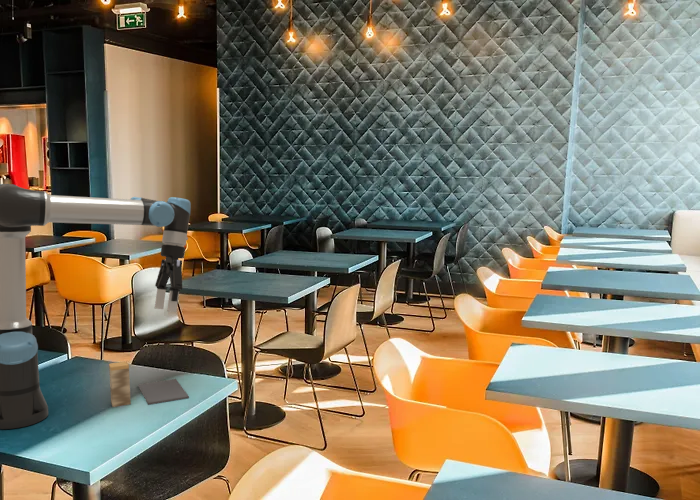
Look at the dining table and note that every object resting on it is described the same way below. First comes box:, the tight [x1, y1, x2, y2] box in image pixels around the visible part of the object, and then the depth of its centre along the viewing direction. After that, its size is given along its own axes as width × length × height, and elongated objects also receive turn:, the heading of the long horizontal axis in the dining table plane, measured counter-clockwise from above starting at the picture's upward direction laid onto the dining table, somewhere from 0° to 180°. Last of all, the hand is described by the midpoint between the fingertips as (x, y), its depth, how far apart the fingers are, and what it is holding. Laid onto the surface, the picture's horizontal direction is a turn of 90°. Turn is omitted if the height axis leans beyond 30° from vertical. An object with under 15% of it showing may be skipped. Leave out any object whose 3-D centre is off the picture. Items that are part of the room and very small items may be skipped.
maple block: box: [108, 361, 132, 408], centre depth 188 cm, size 5×4×12 cm
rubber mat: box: [137, 378, 190, 406], centre depth 198 cm, size 12×18×1 cm, turn 28°
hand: (165, 310), depth 206 cm, fingers open, 13 cm apart
